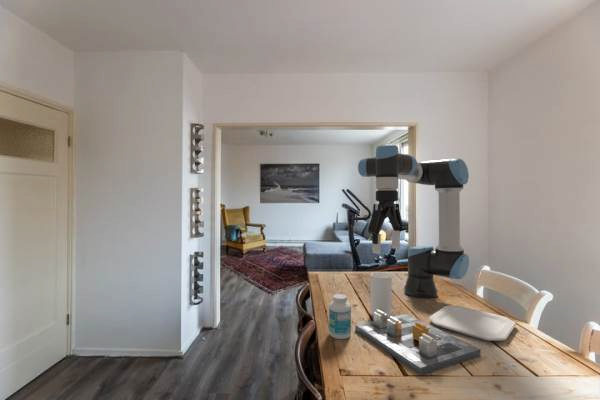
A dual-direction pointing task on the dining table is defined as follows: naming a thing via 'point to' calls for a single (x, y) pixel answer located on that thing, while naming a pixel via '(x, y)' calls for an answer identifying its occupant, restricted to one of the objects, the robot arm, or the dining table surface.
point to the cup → (381, 293)
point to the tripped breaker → (419, 330)
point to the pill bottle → (340, 317)
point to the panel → (416, 343)
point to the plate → (473, 323)
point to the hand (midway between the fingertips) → (386, 251)
